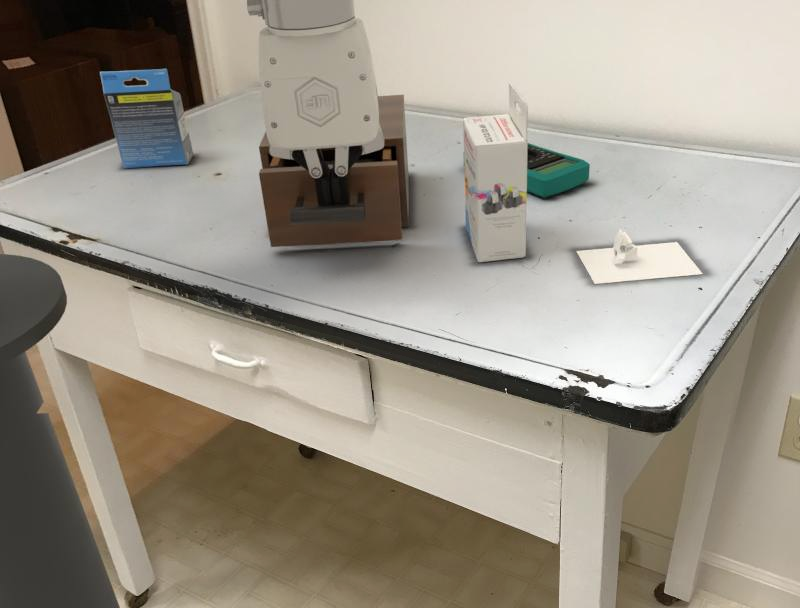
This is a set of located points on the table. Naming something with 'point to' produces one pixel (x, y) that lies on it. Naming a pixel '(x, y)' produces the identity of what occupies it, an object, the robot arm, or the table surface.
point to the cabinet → (393, 135)
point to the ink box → (497, 181)
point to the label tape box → (147, 119)
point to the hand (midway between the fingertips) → (335, 211)
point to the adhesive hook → (636, 261)
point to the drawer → (311, 224)
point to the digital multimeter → (553, 171)
